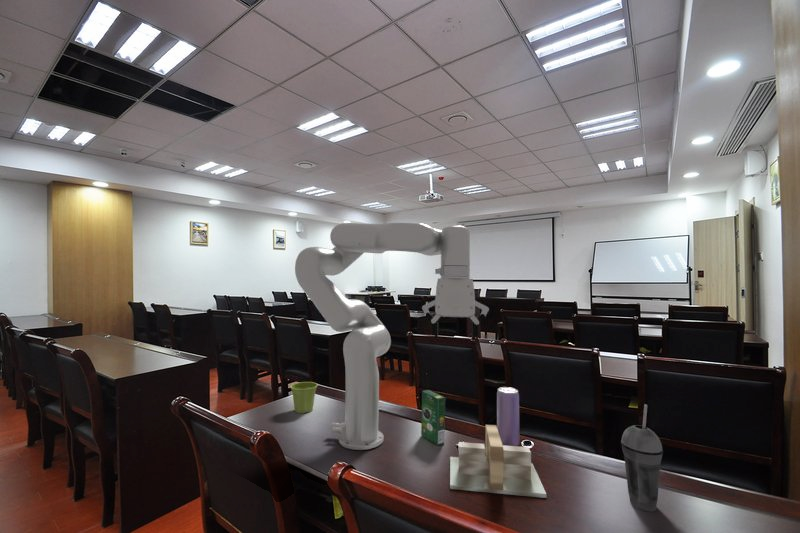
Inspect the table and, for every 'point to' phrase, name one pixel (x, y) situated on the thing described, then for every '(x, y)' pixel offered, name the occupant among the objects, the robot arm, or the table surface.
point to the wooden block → (494, 457)
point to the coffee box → (433, 417)
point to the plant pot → (303, 396)
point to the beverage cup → (642, 464)
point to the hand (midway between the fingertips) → (454, 338)
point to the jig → (474, 471)
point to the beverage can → (508, 415)
